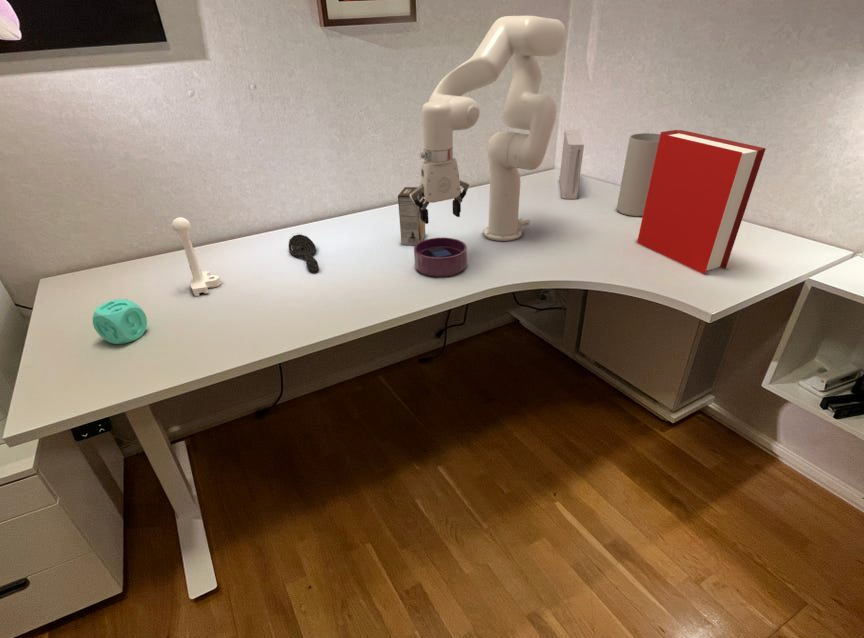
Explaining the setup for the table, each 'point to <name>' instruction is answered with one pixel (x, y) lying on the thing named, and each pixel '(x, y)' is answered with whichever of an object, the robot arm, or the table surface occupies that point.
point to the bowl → (440, 265)
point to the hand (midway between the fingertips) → (440, 218)
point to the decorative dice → (119, 321)
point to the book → (698, 197)
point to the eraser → (439, 252)
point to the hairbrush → (304, 250)
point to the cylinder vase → (637, 173)
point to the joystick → (194, 260)
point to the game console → (571, 164)
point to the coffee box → (410, 218)
